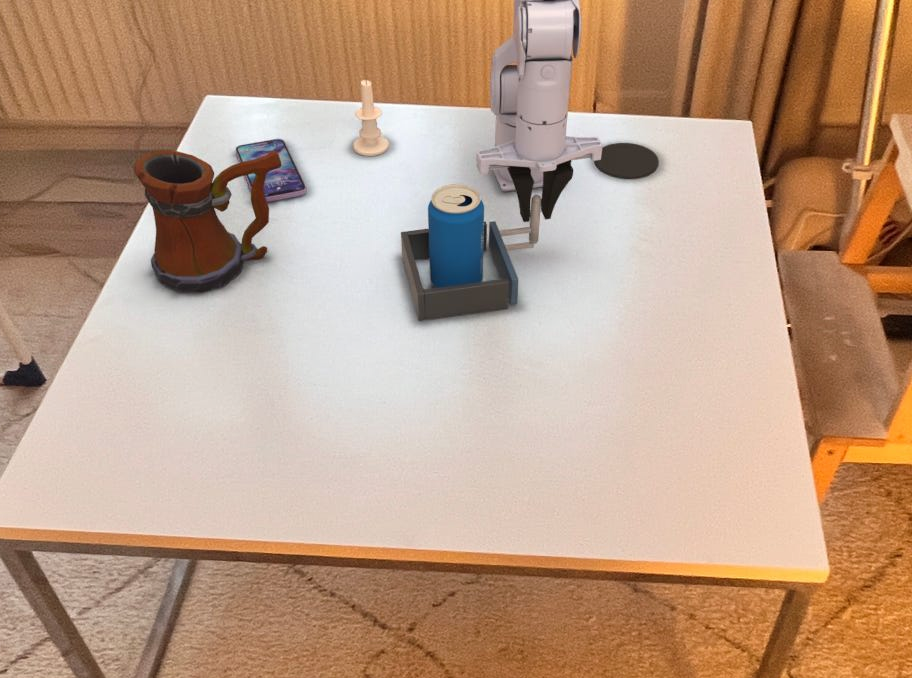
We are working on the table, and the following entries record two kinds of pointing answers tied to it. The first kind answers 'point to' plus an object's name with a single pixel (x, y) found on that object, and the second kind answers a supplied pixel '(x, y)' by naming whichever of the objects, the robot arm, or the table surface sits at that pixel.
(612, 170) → the coaster
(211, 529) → the table surface
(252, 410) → the table surface
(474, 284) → the dark grey u-shaped piece
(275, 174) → the smartphone
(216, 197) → the mug
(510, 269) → the cooler door
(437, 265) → the beverage can
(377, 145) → the candle
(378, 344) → the table surface
